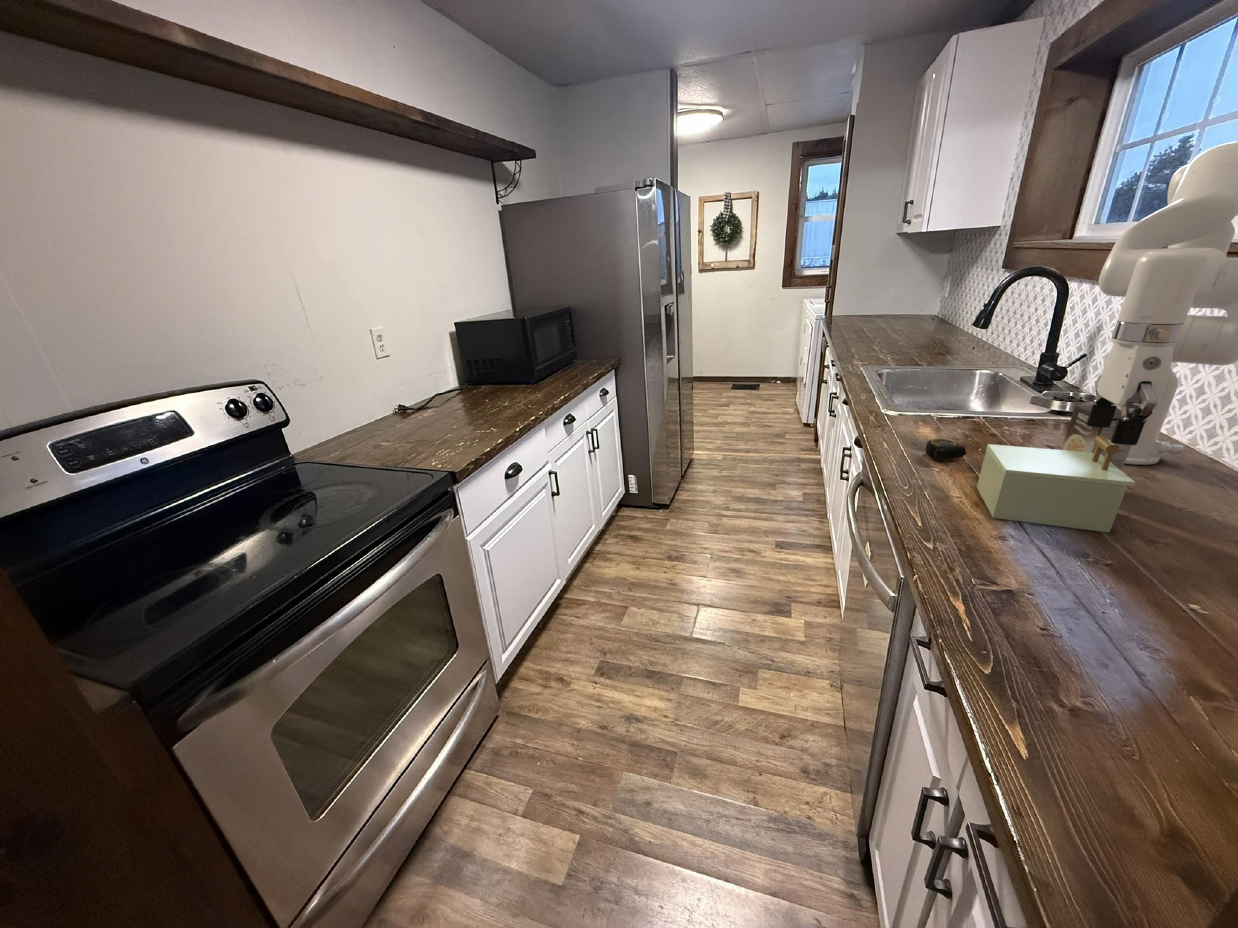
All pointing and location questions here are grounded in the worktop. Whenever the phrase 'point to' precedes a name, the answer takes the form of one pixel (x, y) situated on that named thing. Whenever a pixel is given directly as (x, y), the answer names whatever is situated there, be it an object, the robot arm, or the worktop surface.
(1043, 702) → the worktop surface
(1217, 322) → the robot arm
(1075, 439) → the coffee box
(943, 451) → the tape measure
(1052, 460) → the lid
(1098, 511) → the chest
